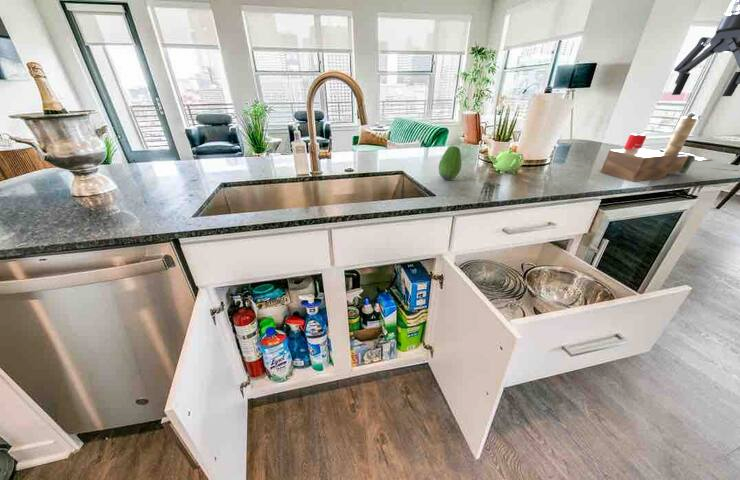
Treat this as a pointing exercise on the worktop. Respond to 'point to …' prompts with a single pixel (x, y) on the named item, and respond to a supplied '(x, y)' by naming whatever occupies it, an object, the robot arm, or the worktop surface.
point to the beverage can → (635, 141)
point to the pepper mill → (681, 134)
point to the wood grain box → (637, 164)
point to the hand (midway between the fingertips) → (699, 95)
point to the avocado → (450, 163)
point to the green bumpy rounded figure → (507, 161)
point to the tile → (701, 158)
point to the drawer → (680, 162)
